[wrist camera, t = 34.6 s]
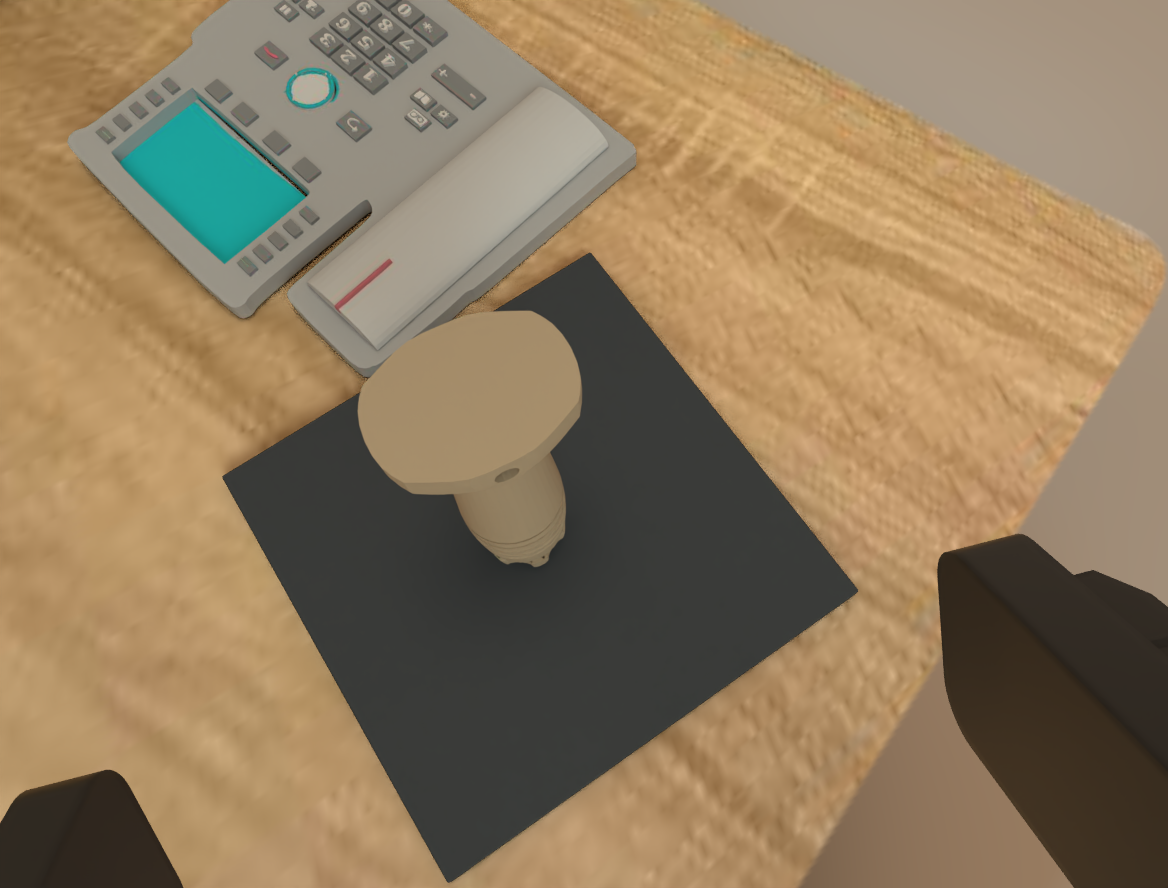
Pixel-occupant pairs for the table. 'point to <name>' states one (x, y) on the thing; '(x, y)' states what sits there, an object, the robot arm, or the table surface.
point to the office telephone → (352, 162)
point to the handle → (480, 425)
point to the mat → (540, 585)
